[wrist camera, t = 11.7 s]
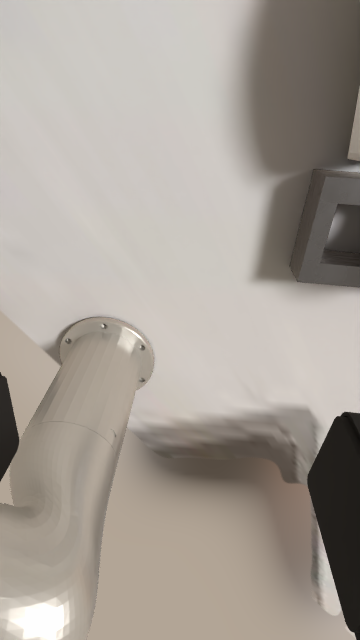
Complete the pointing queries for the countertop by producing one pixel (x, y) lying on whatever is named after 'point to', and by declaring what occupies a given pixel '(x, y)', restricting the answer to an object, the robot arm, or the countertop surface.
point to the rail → (325, 231)
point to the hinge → (355, 134)
